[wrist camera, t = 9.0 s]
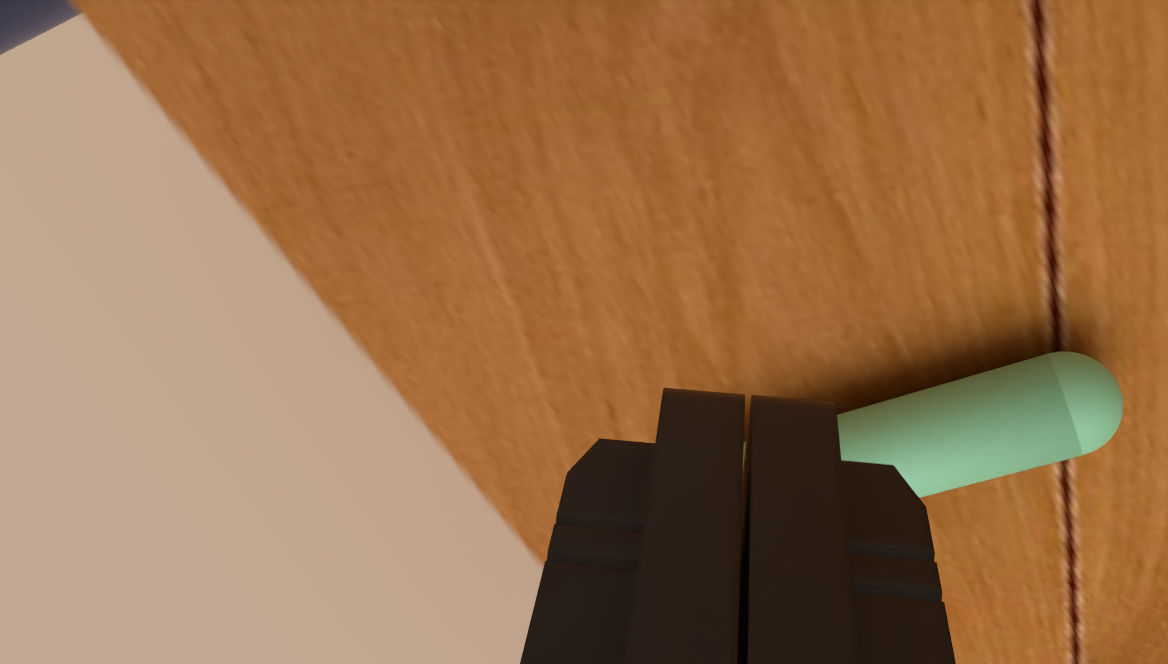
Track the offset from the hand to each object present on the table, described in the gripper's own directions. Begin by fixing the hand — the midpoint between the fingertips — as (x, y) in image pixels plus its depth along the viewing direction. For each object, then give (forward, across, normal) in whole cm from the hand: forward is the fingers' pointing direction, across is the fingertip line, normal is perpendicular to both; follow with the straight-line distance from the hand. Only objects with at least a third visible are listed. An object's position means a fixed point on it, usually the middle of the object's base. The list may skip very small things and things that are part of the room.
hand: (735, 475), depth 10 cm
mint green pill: (+13, -4, +8) cm, 16 cm away
